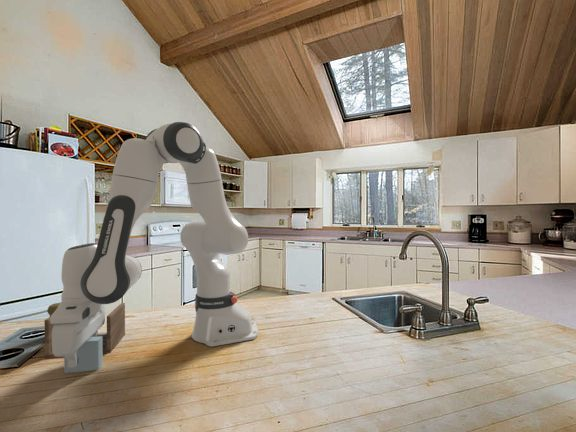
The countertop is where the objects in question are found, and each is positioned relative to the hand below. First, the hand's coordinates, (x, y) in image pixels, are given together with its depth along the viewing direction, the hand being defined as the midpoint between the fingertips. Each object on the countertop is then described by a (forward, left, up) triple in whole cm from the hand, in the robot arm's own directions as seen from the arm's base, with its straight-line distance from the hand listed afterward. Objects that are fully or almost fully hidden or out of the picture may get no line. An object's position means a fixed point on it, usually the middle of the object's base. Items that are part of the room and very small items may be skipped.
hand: (82, 356), depth 75 cm
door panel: (0, -1, -4) cm, 4 cm away
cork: (+18, -24, -4) cm, 30 cm away
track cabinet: (+5, -15, -4) cm, 16 cm away
